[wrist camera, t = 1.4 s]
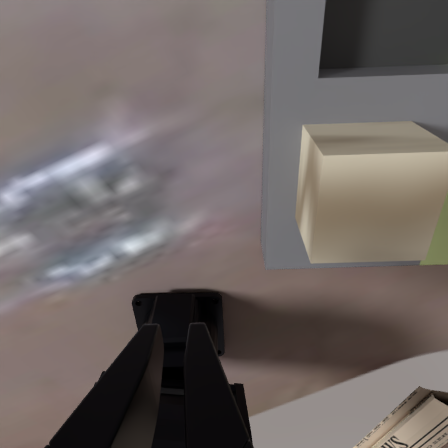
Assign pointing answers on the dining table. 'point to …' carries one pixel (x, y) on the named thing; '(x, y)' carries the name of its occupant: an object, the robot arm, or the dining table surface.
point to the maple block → (370, 191)
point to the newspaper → (413, 423)
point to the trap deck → (346, 96)
